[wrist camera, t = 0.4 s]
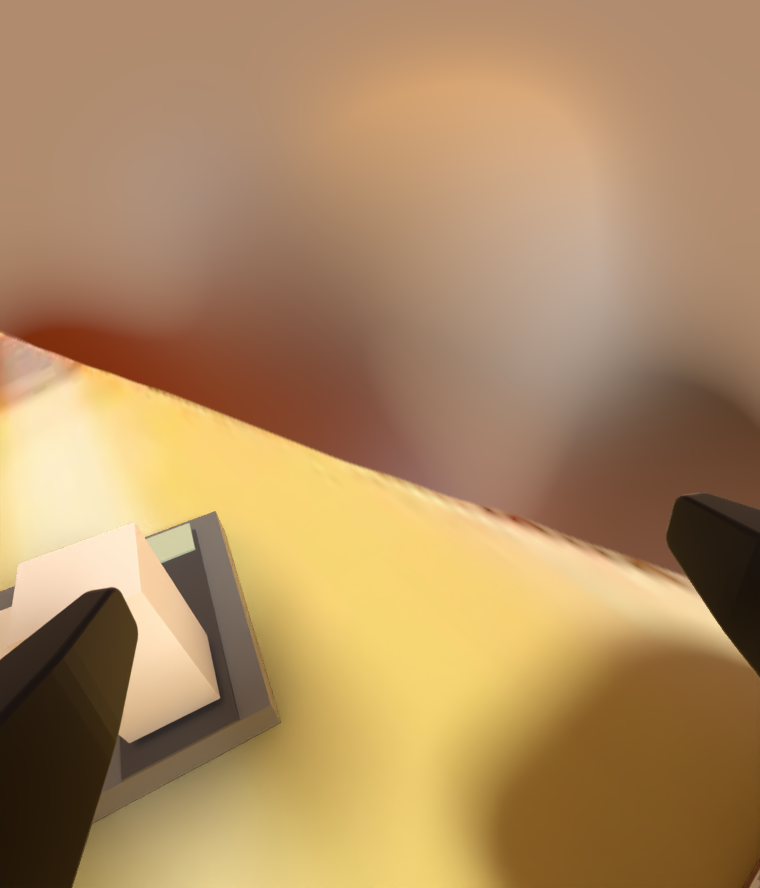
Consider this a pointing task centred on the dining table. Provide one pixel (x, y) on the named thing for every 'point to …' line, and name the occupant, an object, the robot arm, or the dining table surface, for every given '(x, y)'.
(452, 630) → the dining table surface
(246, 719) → the switch bank
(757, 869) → the tin
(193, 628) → the tab offwhite
